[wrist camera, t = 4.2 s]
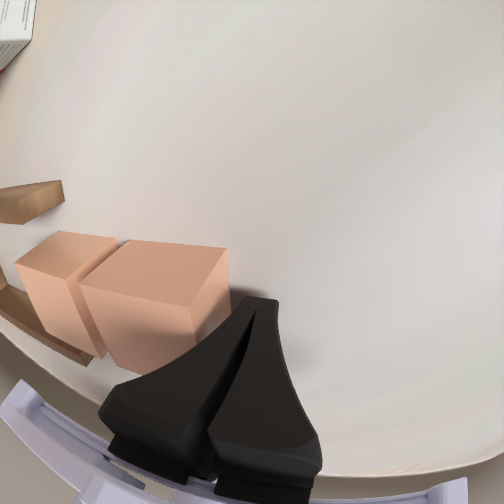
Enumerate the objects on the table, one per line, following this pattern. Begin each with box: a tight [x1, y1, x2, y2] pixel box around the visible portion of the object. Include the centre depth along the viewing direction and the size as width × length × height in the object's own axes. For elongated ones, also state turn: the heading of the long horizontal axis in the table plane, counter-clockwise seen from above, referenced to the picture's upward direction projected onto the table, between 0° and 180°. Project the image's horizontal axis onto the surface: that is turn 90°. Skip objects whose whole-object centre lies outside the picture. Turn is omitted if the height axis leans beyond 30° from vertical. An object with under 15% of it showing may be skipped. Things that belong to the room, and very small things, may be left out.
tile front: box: [79, 240, 232, 375], centre depth 11 cm, size 5×5×4 cm
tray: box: [0, 180, 95, 367], centre depth 15 cm, size 11×17×3 cm, turn 90°
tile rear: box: [14, 231, 118, 359], centre depth 13 cm, size 5×5×4 cm
